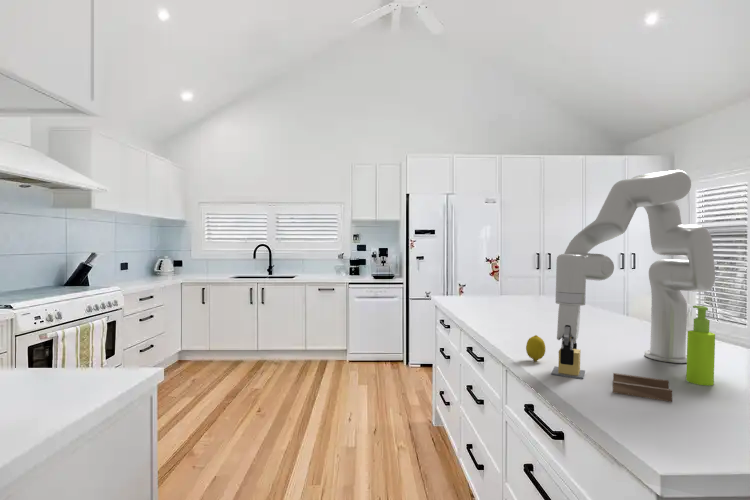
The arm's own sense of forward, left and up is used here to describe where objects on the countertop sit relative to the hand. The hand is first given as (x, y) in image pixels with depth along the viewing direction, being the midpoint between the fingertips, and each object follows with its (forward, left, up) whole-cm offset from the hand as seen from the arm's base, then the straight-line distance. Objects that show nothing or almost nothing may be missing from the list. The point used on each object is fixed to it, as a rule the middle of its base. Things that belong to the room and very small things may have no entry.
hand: (568, 360), depth 124 cm
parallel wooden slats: (+7, +17, -4) cm, 19 cm away
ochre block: (0, 0, -3) cm, 3 cm away
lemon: (-9, -10, -4) cm, 14 cm away
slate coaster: (0, 0, -4) cm, 4 cm away
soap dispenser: (-11, +31, -4) cm, 33 cm away
